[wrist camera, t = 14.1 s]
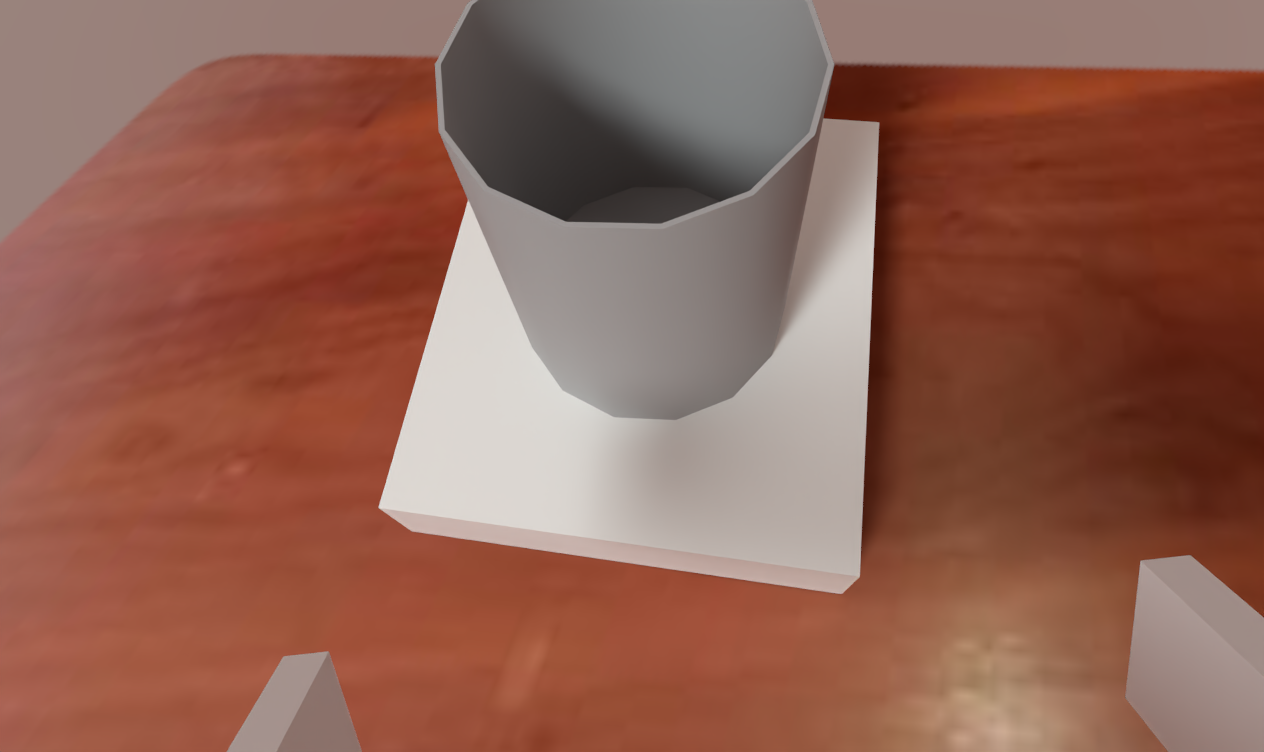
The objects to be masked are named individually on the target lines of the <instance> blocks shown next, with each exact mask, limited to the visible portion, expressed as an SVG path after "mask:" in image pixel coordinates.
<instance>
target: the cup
mask: <svg viewBox="0 0 1264 752" xmlns="http://www.w3.org/2000/svg"><path fill="white" fill-rule="evenodd" d="M833 69H834V62H833V59H832V56H831V53H830V51H829V47H828V45H827V42H826V39H825V36H824V33H823V30H822V27H821V24H820V21H819V18H818V15H817V13H816V10H815V7H814V4H813V1H812V0H471V1H470V2H469V3H467V5H466V7H465V9H464V11H463V13H462V15H461V17H460V18H459V20H458V22H457V24H456V26H455V28H454V30H453V32H452V34H451V36H450V37H449V39H448V41H447V43H446V45H445V47H444V49H443V51H442V52H441V54H440V56H439V58H438V60H437V62H436V64H435V73H436V90H437V107H438V124H439V133H440V135H441V138H442V140H443V142H444V144H445V147H446V149H447V151H448V154H449V156H450V158H451V161H452V163H453V165H454V168H455V170H456V172H457V175H458V177H459V179H460V182H461V184H462V186H463V189H464V191H465V193H466V196H467V198H468V200H469V202H470V205H471V207H472V209H473V212H474V214H475V216H476V219H477V221H478V223H479V226H480V228H481V230H482V233H483V235H484V237H485V240H486V242H487V244H488V247H489V249H490V251H491V254H492V256H493V258H494V260H495V263H496V265H497V267H498V270H499V272H500V274H501V277H502V279H503V281H504V284H505V286H506V288H507V291H508V293H509V295H510V298H511V300H512V302H513V305H514V307H515V309H516V311H517V314H518V316H519V318H520V321H521V323H522V325H523V328H524V330H525V332H526V335H527V337H528V339H529V342H530V344H531V346H532V348H533V349H534V351H535V352H536V354H537V355H538V356H539V358H540V359H541V361H542V362H543V363H544V365H545V366H546V368H547V369H548V371H549V372H550V373H551V375H552V376H553V378H554V379H555V380H556V382H557V383H558V385H559V386H560V387H561V389H562V390H563V391H565V392H566V393H568V394H570V395H572V396H574V397H576V398H578V399H580V400H582V401H584V402H586V403H588V404H590V405H592V406H593V407H595V408H597V409H599V410H601V411H603V412H605V413H607V414H609V415H611V416H613V417H619V418H641V419H664V420H677V419H680V418H682V417H685V416H687V415H690V414H692V413H695V412H697V411H700V410H702V409H705V408H708V407H710V406H713V405H715V404H718V403H720V402H723V401H725V400H728V399H730V398H733V397H734V396H735V395H736V393H737V392H738V391H739V390H740V389H741V388H742V387H743V386H744V385H745V384H746V383H747V382H748V381H749V380H750V378H751V377H752V376H753V375H754V374H755V373H756V372H757V371H758V370H759V369H760V368H761V367H762V366H763V365H764V363H765V362H766V361H767V360H768V359H769V358H770V357H771V356H772V353H773V349H774V346H775V342H776V338H777V334H778V330H779V327H780V323H781V319H782V315H783V312H784V308H785V304H786V299H787V294H788V289H789V284H790V279H791V274H792V270H793V265H794V260H795V255H796V250H797V245H798V240H799V235H800V230H801V225H802V221H803V216H804V211H805V206H806V201H807V196H808V191H809V186H810V181H811V177H812V172H813V167H814V162H815V157H816V152H817V147H818V142H819V137H820V132H821V128H822V123H823V118H824V113H825V108H826V103H827V98H828V93H829V88H830V84H831V79H832V74H833Z"/></svg>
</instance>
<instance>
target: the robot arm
mask: <svg viewBox="0 0 1264 752" xmlns="http://www.w3.org/2000/svg"><path fill="white" fill-rule="evenodd" d="M1125 698H1126V699H1127V701H1128V702H1129V703H1130V704H1131V706H1132V707H1133V708H1134V709H1135V711H1136V712H1137V713H1138V714H1139V716H1140V717H1141V718H1142V719H1143V721H1144V722H1145V723H1146V724H1147V726H1148V727H1149V728H1150V729H1151V731H1152V732H1153V733H1154V734H1155V736H1156V737H1157V738H1158V739H1159V741H1160V742H1161V743H1162V744H1163V746H1164V747H1165V748H1166V750H1167V751H1168V752H1264V618H1263V617H1262V616H1261V615H1260V614H1259V613H1258V612H1256V611H1255V610H1254V609H1253V608H1252V607H1251V606H1249V605H1248V604H1247V603H1246V602H1245V601H1244V600H1242V599H1241V598H1240V597H1239V596H1238V595H1236V594H1235V593H1234V592H1233V591H1232V590H1231V589H1229V588H1228V587H1227V586H1226V585H1225V584H1224V583H1222V582H1221V581H1220V580H1219V579H1218V578H1217V577H1215V576H1214V575H1213V574H1212V573H1211V572H1210V571H1208V570H1207V569H1206V568H1205V567H1204V566H1202V565H1201V564H1200V563H1199V562H1198V561H1197V560H1195V559H1194V558H1193V557H1192V556H1191V555H1187V556H1178V557H1169V558H1160V559H1151V560H1142V561H1140V570H1139V579H1138V588H1137V597H1136V606H1135V615H1134V624H1133V633H1132V642H1131V651H1130V660H1129V669H1128V678H1127V687H1126V696H1125ZM227 752H362V750H361V747H360V744H359V741H358V738H357V735H356V732H355V729H354V726H353V723H352V720H351V717H350V714H349V711H348V708H347V705H346V702H345V699H344V696H343V693H342V690H341V687H340V684H339V681H338V678H337V675H336V672H335V669H334V666H333V663H332V660H331V657H330V654H329V651H328V652H319V653H310V654H301V655H292V656H284V657H283V658H282V660H281V662H280V663H279V665H278V667H277V668H276V670H275V672H274V673H273V675H272V677H271V678H270V680H269V682H268V683H267V685H266V687H265V688H264V690H263V692H262V693H261V695H260V697H259V699H258V700H257V702H256V704H255V705H254V707H253V709H252V710H251V712H250V714H249V715H248V717H247V719H246V720H245V722H244V724H243V725H242V727H241V729H240V730H239V732H238V734H237V735H236V737H235V739H234V740H233V742H232V744H231V745H230V747H229V749H228V751H227Z"/></svg>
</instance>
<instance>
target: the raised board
mask: <svg viewBox="0 0 1264 752" xmlns="http://www.w3.org/2000/svg"><path fill="white" fill-rule="evenodd" d="M878 140H879V122H868V121H853V120H838V119H824V118H823V123H822V128H821V132H820V137H819V142H818V147H817V152H816V157H815V162H814V167H813V172H812V177H811V181H810V186H809V191H808V196H807V201H806V206H805V211H804V216H803V221H802V225H801V230H800V235H799V240H798V245H797V250H796V255H795V260H794V265H793V270H792V274H791V279H790V284H789V289H788V294H787V299H786V304H785V308H784V312H783V315H782V319H781V323H780V327H779V330H778V334H777V338H776V342H775V346H774V349H773V353H772V356H771V357H770V358H769V359H768V360H767V361H766V362H765V363H764V365H763V366H762V367H761V368H760V369H759V370H758V371H757V372H756V373H755V374H754V375H753V376H752V377H751V378H750V380H749V381H748V382H747V383H746V384H745V385H744V386H743V387H742V388H741V389H740V390H739V391H738V392H737V393H736V395H735V396H734V397H733V398H730V399H728V400H725V401H723V402H720V403H718V404H715V405H713V406H710V407H708V408H705V409H702V410H700V411H697V412H695V413H692V414H690V415H687V416H685V417H682V418H680V419H677V420H664V419H641V418H619V417H613V416H611V415H609V414H607V413H605V412H603V411H601V410H599V409H597V408H595V407H593V406H592V405H590V404H588V403H586V402H584V401H582V400H580V399H578V398H576V397H574V396H572V395H570V394H568V393H566V392H565V391H563V390H562V389H561V387H560V386H559V385H558V383H557V382H556V380H555V379H554V378H553V376H552V375H551V373H550V372H549V371H548V369H547V368H546V366H545V365H544V363H543V362H542V361H541V359H540V358H539V356H538V355H537V354H536V352H535V351H534V349H533V348H532V346H531V344H530V342H529V339H528V337H527V335H526V332H525V330H524V328H523V325H522V323H521V321H520V318H519V316H518V314H517V311H516V309H515V307H514V305H513V302H512V300H511V298H510V295H509V293H508V291H507V288H506V286H505V284H504V281H503V279H502V277H501V274H500V272H499V270H498V267H497V265H496V263H495V260H494V258H493V256H492V254H491V251H490V249H489V247H488V244H487V242H486V240H485V237H484V235H483V233H482V230H481V228H480V226H479V223H478V221H477V219H476V216H475V214H474V212H473V209H472V207H471V205H470V202H469V200H468V203H467V206H466V210H465V213H464V217H463V220H462V224H461V227H460V230H459V234H458V237H457V241H456V244H455V248H454V251H453V254H452V258H451V261H450V265H449V268H448V272H447V275H446V278H445V282H444V285H443V289H442V292H441V296H440V299H439V302H438V306H437V309H436V313H435V316H434V320H433V323H432V326H431V330H430V333H429V337H428V340H427V344H426V347H425V350H424V354H423V357H422V361H421V364H420V368H419V371H418V374H417V378H416V381H415V385H414V388H413V392H412V395H411V398H410V402H409V405H408V409H407V412H406V415H405V419H404V422H403V426H402V429H401V433H400V436H399V439H398V443H397V446H396V450H395V453H394V457H393V460H392V463H391V467H390V470H389V474H388V477H387V481H386V484H385V487H384V491H383V494H382V498H381V501H380V505H379V509H381V510H382V511H384V512H385V513H387V514H388V515H389V516H391V517H392V518H394V519H395V520H396V521H398V522H399V523H401V524H402V525H404V526H405V527H406V528H408V529H409V530H411V531H414V532H421V533H427V534H434V535H441V536H448V537H455V538H462V539H468V540H475V541H482V542H489V543H496V544H503V545H509V546H516V547H523V548H530V549H537V550H544V551H550V552H557V553H564V554H571V555H578V556H585V557H591V558H598V559H605V560H612V561H619V562H625V563H632V564H639V565H646V566H653V567H660V568H666V569H673V570H680V571H687V572H694V573H701V574H707V575H714V576H721V577H728V578H735V579H742V580H748V581H755V582H762V583H769V584H776V585H783V586H789V587H796V588H803V589H810V590H817V591H824V592H830V593H837V594H842V593H843V592H844V591H845V590H847V589H848V588H849V587H850V586H851V585H852V584H853V583H854V582H855V581H856V580H857V579H858V578H859V577H860V559H861V536H862V513H863V490H864V466H865V443H866V420H867V396H868V373H869V350H870V326H871V303H872V280H873V256H874V233H875V210H876V187H877V163H878Z"/></svg>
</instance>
